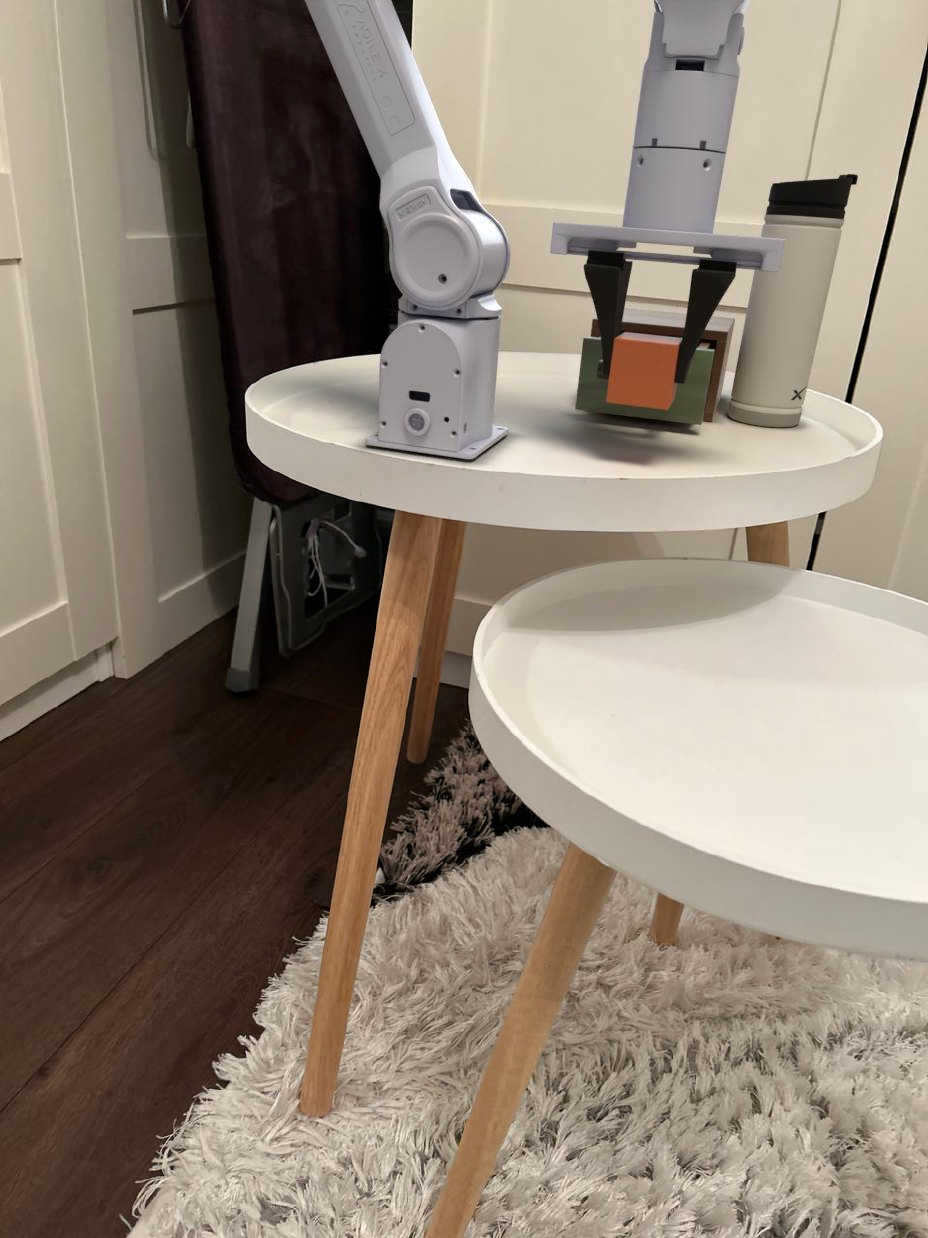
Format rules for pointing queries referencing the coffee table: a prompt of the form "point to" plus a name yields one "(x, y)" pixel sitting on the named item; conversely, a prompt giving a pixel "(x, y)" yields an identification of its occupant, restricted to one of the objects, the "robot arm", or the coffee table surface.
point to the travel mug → (789, 301)
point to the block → (643, 370)
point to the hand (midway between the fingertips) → (645, 377)
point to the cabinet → (674, 326)
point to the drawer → (682, 409)
